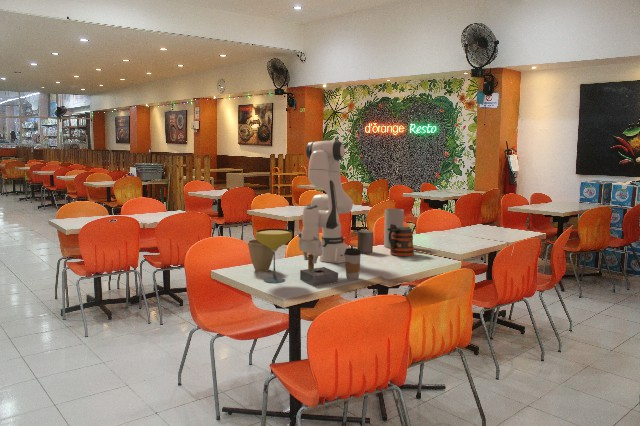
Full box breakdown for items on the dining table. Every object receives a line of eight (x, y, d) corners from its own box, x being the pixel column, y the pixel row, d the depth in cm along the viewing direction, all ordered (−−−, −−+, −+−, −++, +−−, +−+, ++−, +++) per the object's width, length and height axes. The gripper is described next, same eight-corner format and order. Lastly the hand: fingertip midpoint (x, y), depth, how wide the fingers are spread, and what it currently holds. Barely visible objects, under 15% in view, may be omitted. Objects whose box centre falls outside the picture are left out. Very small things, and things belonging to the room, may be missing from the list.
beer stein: (399, 258, 318) (400, 225, 316) (380, 255, 329) (381, 223, 326) (418, 254, 331) (419, 222, 329) (399, 251, 342) (400, 220, 339)
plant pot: (246, 273, 282) (245, 243, 280) (250, 267, 296) (249, 238, 294) (274, 273, 282) (274, 244, 280) (277, 267, 296) (276, 239, 294)
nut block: (324, 276, 276) (324, 267, 275) (338, 282, 264) (338, 272, 263) (300, 279, 269) (300, 270, 268) (313, 286, 257) (313, 276, 256)
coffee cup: (341, 278, 273) (341, 249, 271) (351, 275, 278) (352, 247, 276) (353, 281, 267) (353, 251, 265) (364, 278, 272) (364, 249, 270)
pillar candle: (354, 252, 336) (354, 229, 334) (362, 250, 344) (363, 227, 342) (367, 254, 330) (368, 231, 328) (375, 252, 338) (376, 229, 336)
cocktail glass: (280, 274, 280) (279, 227, 277) (299, 281, 266) (299, 232, 263) (249, 279, 270) (249, 230, 266) (268, 287, 255) (267, 235, 252)
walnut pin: (312, 272, 284) (312, 254, 283) (314, 273, 282) (314, 255, 280) (307, 273, 283) (307, 254, 281) (309, 274, 280) (309, 255, 279)
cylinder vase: (386, 244, 363) (386, 208, 360) (404, 245, 359) (405, 209, 356) (382, 248, 351) (383, 210, 348) (401, 249, 347) (402, 211, 344)
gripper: (325, 238, 272) (325, 264, 273) (307, 232, 290) (306, 257, 291) (314, 239, 269) (314, 265, 270) (296, 233, 287) (296, 258, 288)
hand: (310, 261), depth 281 cm, fingers open, 8 cm apart
